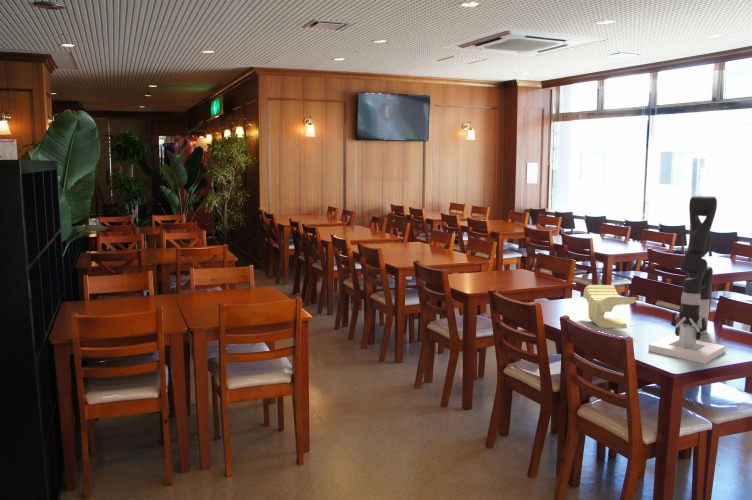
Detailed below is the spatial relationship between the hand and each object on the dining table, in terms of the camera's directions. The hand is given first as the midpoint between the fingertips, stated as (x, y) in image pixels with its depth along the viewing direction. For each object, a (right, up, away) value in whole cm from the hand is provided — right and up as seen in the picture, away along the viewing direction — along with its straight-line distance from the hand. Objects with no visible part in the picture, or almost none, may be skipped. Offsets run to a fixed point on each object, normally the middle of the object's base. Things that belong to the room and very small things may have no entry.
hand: (687, 337), depth 287 cm
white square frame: (0, -6, +1) cm, 6 cm away
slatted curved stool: (-19, 0, +47) cm, 51 cm away
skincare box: (0, -7, +1) cm, 7 cm away
